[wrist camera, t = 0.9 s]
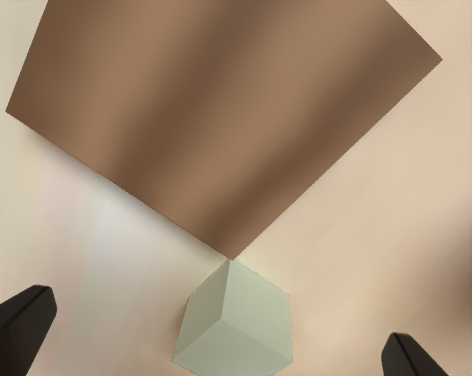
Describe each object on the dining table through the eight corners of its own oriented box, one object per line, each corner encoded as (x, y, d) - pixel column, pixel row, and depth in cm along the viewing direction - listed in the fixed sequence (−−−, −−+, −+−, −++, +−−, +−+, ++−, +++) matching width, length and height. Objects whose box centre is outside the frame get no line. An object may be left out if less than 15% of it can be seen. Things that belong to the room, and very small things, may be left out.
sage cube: (288, 293, 26) (292, 361, 21) (243, 328, 29) (238, 397, 24) (231, 255, 25) (220, 318, 20) (189, 295, 28) (171, 360, 22)
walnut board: (416, 53, 17) (443, 59, 14) (236, 234, 24) (232, 260, 21) (168, -197, 14) (144, -249, 11) (39, 99, 20) (5, 111, 18)
